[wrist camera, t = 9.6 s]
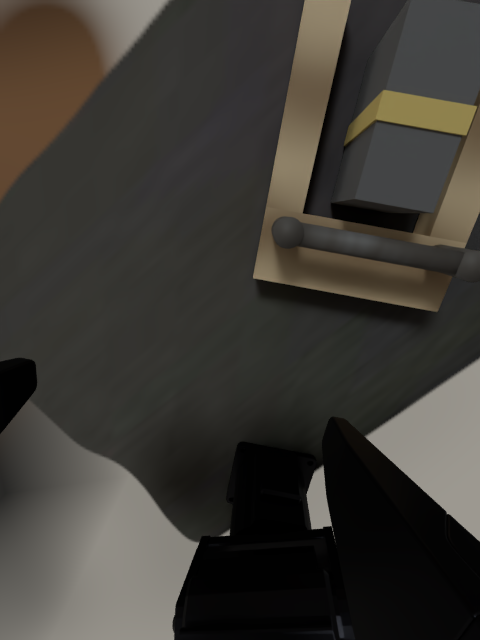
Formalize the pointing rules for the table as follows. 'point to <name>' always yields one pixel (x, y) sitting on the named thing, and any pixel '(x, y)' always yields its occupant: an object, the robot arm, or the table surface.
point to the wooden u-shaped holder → (347, 237)
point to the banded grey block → (412, 109)
